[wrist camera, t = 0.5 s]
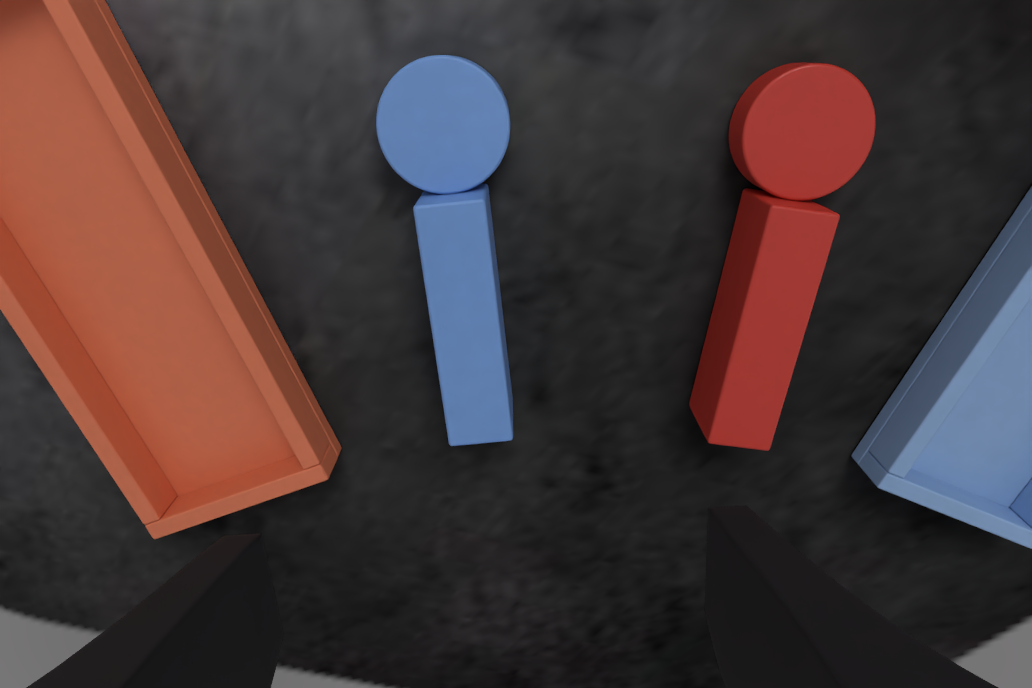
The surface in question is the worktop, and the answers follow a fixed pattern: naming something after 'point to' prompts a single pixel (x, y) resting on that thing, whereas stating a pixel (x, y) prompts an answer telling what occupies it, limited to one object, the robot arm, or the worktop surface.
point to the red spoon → (777, 242)
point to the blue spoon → (456, 229)
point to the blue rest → (969, 401)
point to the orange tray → (138, 283)
